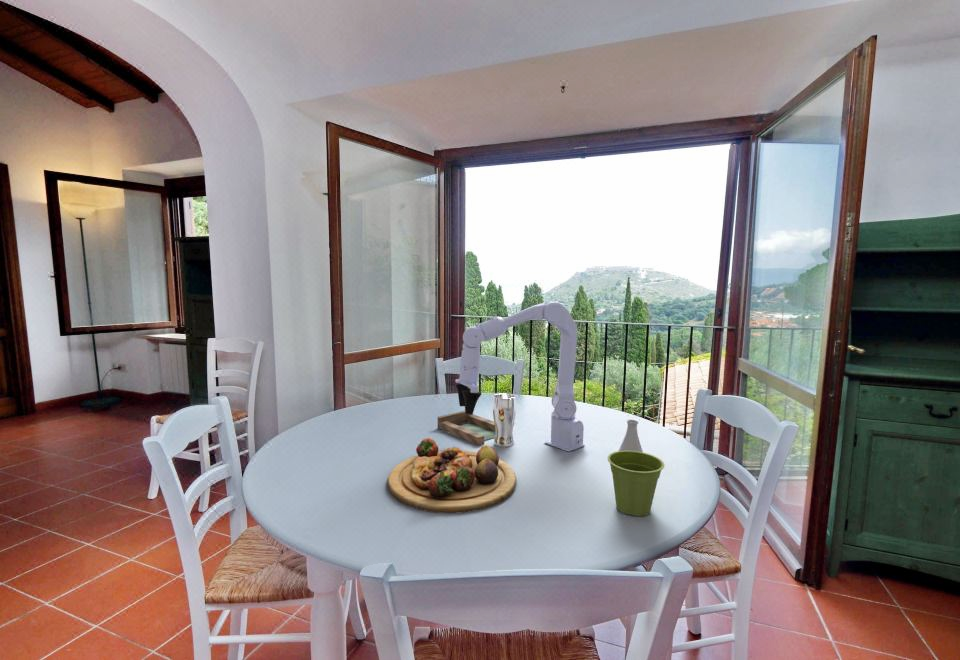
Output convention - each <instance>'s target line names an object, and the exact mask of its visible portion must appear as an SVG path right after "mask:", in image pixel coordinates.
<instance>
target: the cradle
mask: <svg viewBox="0 0 960 660" xmlns="http://www.w3.org/2000/svg"><path fill="white" fill-rule="evenodd" d="M463 423H464V424H463ZM459 424H460V425H459ZM438 428H439V429H438ZM437 429H438V430H440V429H442V430H441V431H443V430H444V431H443V432H445V431H446V432H445V433H447V432H449V433H448V434H450V433H451V434H450V435H452V434H453V435H452V436H454V435H455V437H457V436H458V437H457V438H459V437H460V439H462V440H465V441H466V440H467V442H469V441H470V442H469V443H471V442H472V443H471V444H473V443H474V445H476V446H481V444H482V445H485V442H486V441H488V440H492V438H493V439H495V433H496V432H495V423H494V420H490V419H487V418H486V417H482V416H479V415H476V414H474V413H473V414H466V413H465V410H462V411H461V410H460V411H457V412H454V413H448V414H444V415H440V416H437Z"/></svg>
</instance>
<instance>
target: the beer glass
mask: <svg viewBox="0 0 960 660" xmlns="http://www.w3.org/2000/svg"><path fill="white" fill-rule="evenodd" d="M516 411H517V404H516V395H515V394H512V393H507V392H506V393H496V394H494V395H493V404H492V416H493V421H494V423H495V432H496V433H495V438H494V441H493V444H494V445H495V446H497V447H500V448H508V447H512V446H513V445H514V444H515V442H514V436H513V435H514V434H513V433H514V431H513V430H514V426H515V420H516V413H517V412H516Z"/></svg>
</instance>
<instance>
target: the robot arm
mask: <svg viewBox="0 0 960 660" xmlns="http://www.w3.org/2000/svg"><path fill="white" fill-rule="evenodd" d="M532 320H533V321H540V322H541V321H542V322H543V321H544V320H545V321H546V322H547V323H549V324H551V325H553V326H554V327H555V328H556V329H557V331H559V332H560V339H559V340H560V342H559V354H558V355H559V356H558V365H557V366H558V369H557V383H556V386H555V391H554V394H553V395H552V396H551V397H552V398H551V405H552V407H553V408H554V409H553V411H552V412H551V417H550V418H551V422H550V423H551V424H550V430H551V431H550V439H549V440H545V441H544V444H546V445H548V446H552V447H554V448H557V449H560V450H562V451H566V452H572V451H574V450H577V449H579V448H582V447H583V448H584V447H585V443H584V428H585V427H584V423H583V422H582V421H581V420H579V419H578V418H577V417H576V413H577V404H576V402H575V391H574V382H575V381H574V379H575V368H576V355H577V345H578V333H579V332H578V331H579V329H578V326H577V324H576V322H575V321H574V318H573V317H572V315H571V314H570V311H569V309H567V308H566V307H565V306H564V305H563V304H562V303H560V302H557V301H555V300H548V301H546V302H544V303H543V302H542V303H539V304H535V305H532V306H530V307H527V308H525V309H523V310H520V311H518V312H516V313H513V314H511V315H509V316H506V317H504V318H503V317H500V316H490V317H489V319H487V320H486V321H483V322H480V323H479V322H477V323H475V324H474V326H468V327H467V328H466V329H465V330H464V331H463V334H462V341H463V343H462V350H461V358H460V367H459V378H458V379H455V383H454V385H455V388H456V391H457V396H458V405H459V407H464V411H465V413H466V414H474V411H475V408H476V405H477V403H478V402H479V401H478V400H479V399H480V397H481V396H482V391H479V383H480V382H479V373H480V363H481V351H480V350H481V344H482V342H484V343H486V342H488V341H490V340H493V339H496V338H499V337H501V336H503V335H505V334H506V332H507V330H508V329H509V328H512V327H515V326H518V325H520V324H523V323H525V322H529V321H532Z"/></svg>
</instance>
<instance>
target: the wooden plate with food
mask: <svg viewBox="0 0 960 660" xmlns="http://www.w3.org/2000/svg"><path fill="white" fill-rule="evenodd" d="M415 451H416V452H415V453H416V455H415V456H411V457H409V458H407V459H405V460H403V461H402V462H400V463H398V464H397V465H395V467H393V469H392V470H391V472H390V473H389V475H388V477H387V487H388V490H389V492H390V494H391V495H392V496H393V497H394V499H396V500H397V501H398V502H400V503H401V504H404V505H405V504H406V505H405V506H407V505H408V506H407V507H410V506H411V507H410V508H413V507H414V508H413V509H416V508H417V509H416V510H420V509H421V510H420V511H424V510H426V511H425V512H429V511H431V512H430V513H432V512H433V513H438V512H441V514H442V512H443V514H457V513H456V512H462V513H469V511H470V512H475V511H474V510H476V511H481V510H484V508H485V509H488V508H491V507H494V506H496V505H498V504H500V503H502V502H504V501H505V500H507V499H508V498H509V497H510V496H511V495H512V494H513V493H514V491H515V489H516V486H517V476H516V473H515V471H514V470H513V468H512V467H511V466H510V465H508V463H506V462H505V461H503V460H502V459H500V458H499V454H498V453H497V451H496V450H495V449H494V448H493V447H491V446H489V445H487V444H482V446H481V447H480V449H479V450H478V451H474V450H473V451H472V450H463V449H462V450H461V448H459V447H455V446H453V447H452V448H451V447H447V448H446V449H443V450H439V446H438V444H437V443H436V441H435V440H434V439H433V438H430V437H427V438H424V439H422V440H421V442H420V443H417V447H416V449H415ZM480 509H481V510H480Z"/></svg>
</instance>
